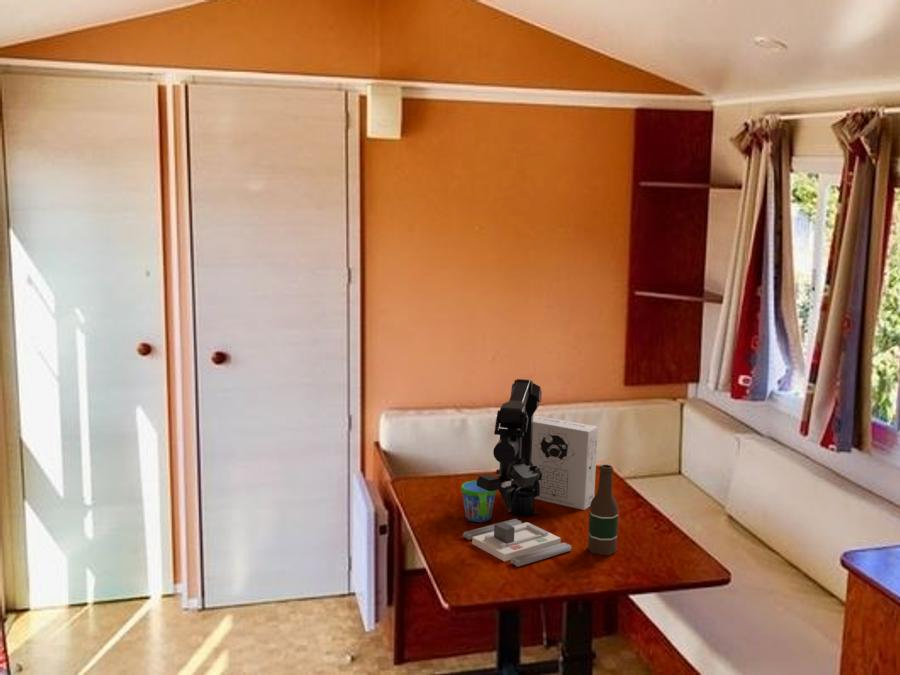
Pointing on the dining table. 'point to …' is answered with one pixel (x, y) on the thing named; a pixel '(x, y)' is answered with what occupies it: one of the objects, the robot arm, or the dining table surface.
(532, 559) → the grey twin rods
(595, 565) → the dining table surface
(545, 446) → the cereal box
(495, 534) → the switch knob
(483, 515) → the snack cup
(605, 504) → the beer bottle
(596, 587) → the dining table surface
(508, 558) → the breaker panel
